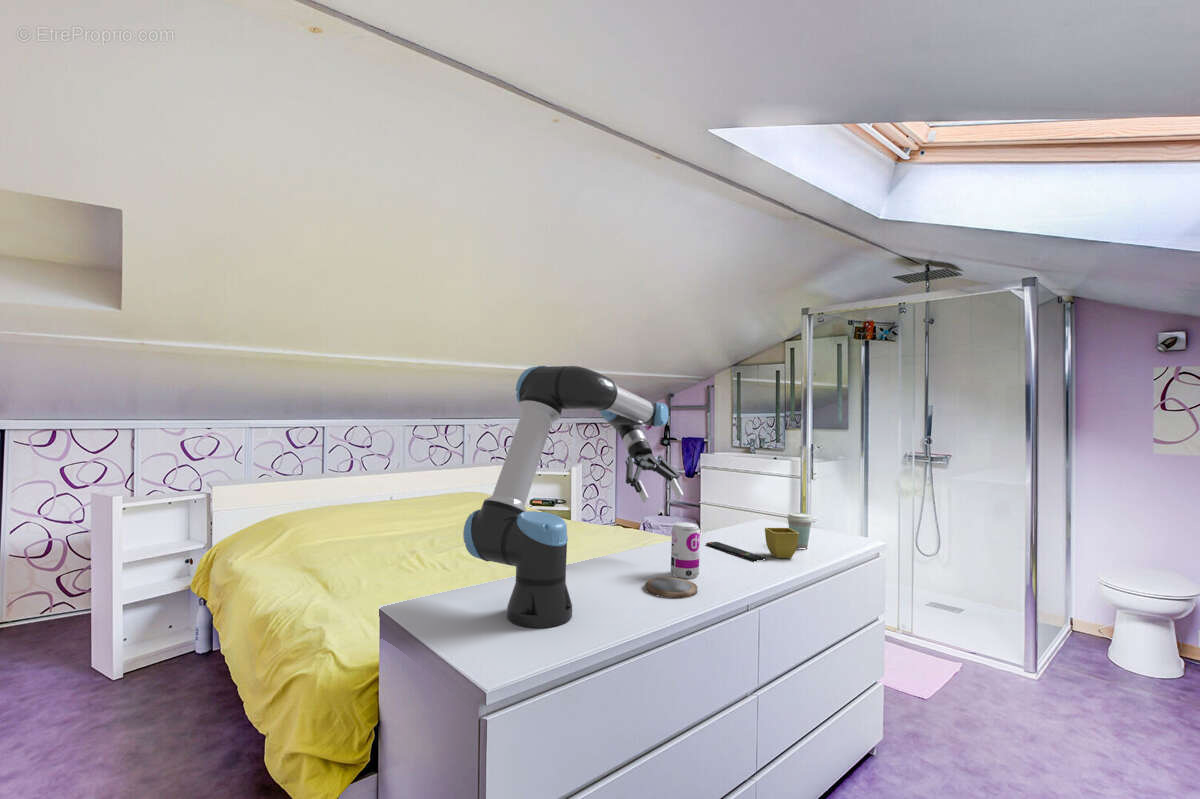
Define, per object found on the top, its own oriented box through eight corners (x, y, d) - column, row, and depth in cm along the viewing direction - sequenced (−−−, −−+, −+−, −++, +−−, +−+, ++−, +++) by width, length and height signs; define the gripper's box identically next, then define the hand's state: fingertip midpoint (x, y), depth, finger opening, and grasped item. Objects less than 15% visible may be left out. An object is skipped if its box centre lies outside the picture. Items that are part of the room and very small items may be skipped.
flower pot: (763, 553, 199) (764, 527, 199) (787, 553, 200) (788, 527, 200) (773, 560, 190) (774, 532, 190) (799, 560, 191) (799, 533, 191)
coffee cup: (807, 545, 212) (808, 512, 212) (814, 551, 203) (815, 517, 204) (784, 544, 213) (785, 511, 213) (789, 549, 204) (790, 516, 204)
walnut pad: (666, 601, 146) (666, 596, 146) (635, 585, 158) (635, 581, 158) (708, 593, 153) (708, 588, 154) (675, 579, 166) (675, 574, 166)
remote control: (753, 563, 187) (753, 559, 187) (705, 546, 208) (705, 542, 208) (765, 561, 190) (765, 557, 190) (716, 545, 210) (716, 541, 210)
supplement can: (704, 576, 169) (705, 525, 169) (683, 581, 164) (685, 528, 164) (685, 569, 175) (686, 520, 176) (665, 573, 171) (666, 523, 171)
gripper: (662, 452, 202) (688, 502, 189) (601, 454, 189) (625, 508, 176) (672, 438, 197) (699, 488, 185) (610, 440, 185) (635, 493, 172)
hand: (663, 498), depth 180 cm, fingers open, 13 cm apart
